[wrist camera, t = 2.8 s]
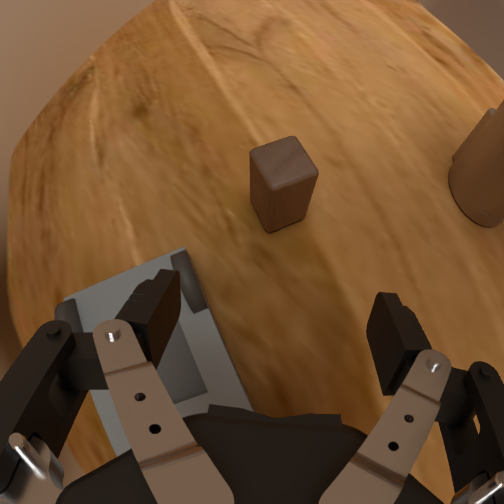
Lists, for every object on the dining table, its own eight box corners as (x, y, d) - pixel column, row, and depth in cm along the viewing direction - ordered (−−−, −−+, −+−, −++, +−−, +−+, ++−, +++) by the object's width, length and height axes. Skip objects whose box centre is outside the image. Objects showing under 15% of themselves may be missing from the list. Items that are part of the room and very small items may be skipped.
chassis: (76, 303, 27) (48, 291, 23) (189, 256, 29) (177, 234, 24) (164, 519, 21) (149, 543, 16) (290, 482, 22) (297, 505, 17)
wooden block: (248, 199, 31) (247, 148, 23) (286, 185, 31) (295, 132, 24) (267, 235, 29) (271, 190, 22) (306, 219, 30) (321, 171, 22)
